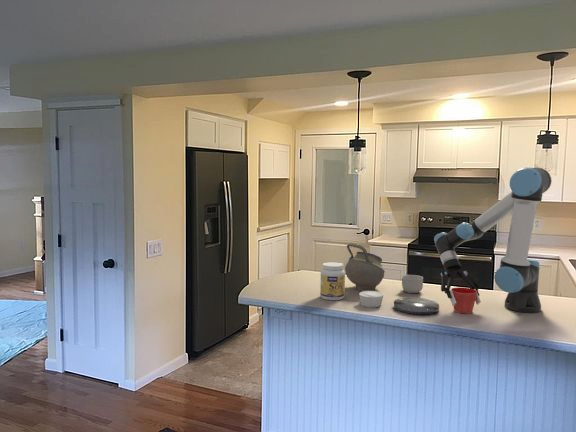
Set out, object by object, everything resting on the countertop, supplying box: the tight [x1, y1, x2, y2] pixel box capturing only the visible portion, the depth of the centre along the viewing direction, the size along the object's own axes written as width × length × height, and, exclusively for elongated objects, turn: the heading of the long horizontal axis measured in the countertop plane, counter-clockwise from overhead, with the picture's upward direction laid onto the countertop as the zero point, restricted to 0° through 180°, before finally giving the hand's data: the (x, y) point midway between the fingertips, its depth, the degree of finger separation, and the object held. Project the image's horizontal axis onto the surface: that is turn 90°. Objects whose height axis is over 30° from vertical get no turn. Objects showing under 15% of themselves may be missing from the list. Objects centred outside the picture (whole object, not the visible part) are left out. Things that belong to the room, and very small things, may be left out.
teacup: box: [401, 274, 424, 294], centre depth 245 cm, size 14×11×8 cm
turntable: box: [393, 296, 440, 315], centre depth 214 cm, size 20×20×2 cm
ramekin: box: [358, 290, 384, 308], centre depth 221 cm, size 11×11×5 cm
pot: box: [344, 242, 386, 292], centre depth 248 cm, size 21×21×25 cm
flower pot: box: [450, 287, 477, 315], centre depth 211 cm, size 11×11×10 cm
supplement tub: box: [319, 261, 346, 301], centre depth 232 cm, size 12×12×17 cm
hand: (466, 303), depth 208 cm, fingers closed on flower pot, 11 cm apart
